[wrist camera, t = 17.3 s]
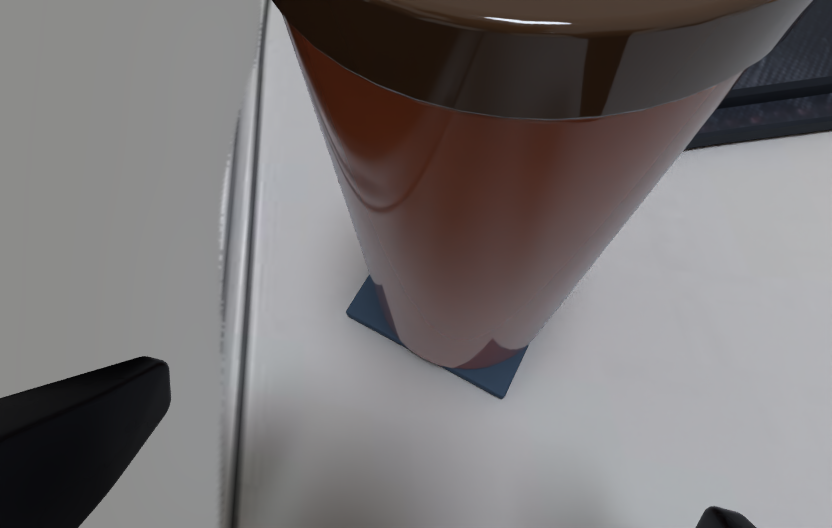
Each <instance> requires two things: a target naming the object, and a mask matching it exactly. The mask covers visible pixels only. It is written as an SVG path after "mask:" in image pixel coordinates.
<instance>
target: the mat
mask: <svg viewBox="0 0 832 528" xmlns="http://www.w3.org/2000/svg"><path fill="white" fill-rule="evenodd" d="M346 313H347V315H348V316H349V317H350V318H352V319H354V320H356V321H358V322H359V323H361V324H363V325H365V326H367V327H369V328H371V329H372V330H374V331H376V332H378V333H380V334H382V335H384V336H385V337H387V338H389V339H391V340H393V341H395V342H396V343H398V344H400V345H402V346H404V347H406V346H405V345H404V344H403V343H402V342H401V341H400V340H399V339H398V338H397V336H396V335H395V334H394V333H393V331H392V330H391V328H390V326H389V325H388V323H387V321H386V319H385V317H384V314H383V312H382V309H381V306H380V303H379V300H378V297H377V294H376V291H375V288H374V285H373V282H372V279H371V276H370V274H369V276H368V278H367V279H366V281H365V282H364V284H363V285H362V287H361V289H360V290H359V292H358V293H357V295H356V297H355V298H354V300H353V301H352V303H351V304H350V306H349V308H348V309H347V311H346ZM528 345H529V344H528ZM528 345H527V346H526V347H525V348H524V349H523V350H522V351H521V352H519V353H518V354H516V355H515V356H513V357H512V358H510V359H508V360H506V361H503V362H501V363H499V364H496V365H493V366H490V367H484V368H479V369H455V368H449V367H445V366H441V365H439V366H441V367H443V368H444V369H446V370H448V371H450V372H452V373H454V374H456V375H457V376H459V377H461V378H463V379H465V380H467V381H469V382H470V383H472V384H474V385H476V386H478V387H480V388H481V389H483V390H485V391H487V392H489V393H491V394H493V395H494V396H496V397H498V398H500V399H503V398H504V397H505V395H506V393H507V390H508V388H509V386H510V384H511V382H512V380H513V377H514V375H515V373H516V371H517V369H518V367H519V364H520V362H521V360H522V358H523V356H524V354H525V352H526V349H527V347H528ZM406 348H407V347H406ZM409 350H410V349H409ZM437 365H438V364H437Z"/></svg>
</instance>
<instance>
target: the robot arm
mask: <svg viewBox="0 0 832 528" xmlns="http://www.w3.org/2000/svg"><path fill="white" fill-rule="evenodd" d="M170 402H171V390H170V375H169V367H168V365H167V363H166V362H164V361H163V360H159V359H155V358H151V357H146V356H142V357H138V358H135V359H132V360H128V361H125V362H121V363H118V364H115V365H111V366H108V367H104V368H101V369H97V370H94V371H91V372H87V373H84V374H81V375H77V376H74V377H71V378H67V379H64V380H61V381H57V382H54V383H50V384H47V385H43V386H40V387H37V388H33V389H30V390H26V391H23V392H20V393H16V394H13V395H10V396H6V397H3V398H0V528H78V527H79V526H80V525H81V524H82V523H83V521H84V520H85V519H86V518H87V517H88V516H89V514H90V513H91V512H92V511H93V510H94V509H95V508H96V506H97V505H98V504H99V503H100V502H101V500H102V499H103V498H104V497H105V496H106V494H107V493H108V492H109V490H110V489H111V488H112V487H113V486H114V484H115V483H116V482H117V480H118V479H119V478H120V476H121V475H122V474H123V472H124V471H125V469H126V468H127V467H128V465H129V464H130V463H131V461H132V460H133V458H134V457H135V456H136V454H137V453H138V452H139V450H140V449H141V447H142V446H143V445H144V443H145V442H146V440H147V439H148V437H149V436H150V435H151V434H152V432H153V431H154V429H155V428H156V427H157V425H158V424H159V422H160V421H161V420H162V418H163V417H164V416H165V414H166V412H167V411H168V408H169V406H170ZM696 528H756V527H755V526H754V525H753V524H752V523H751V522H750V521H749V520H748V519H747V518H745V517H744V516H743V515H742V514H740V513H738V512H735V511H731V510H727V509H723V508H720V507H716V506H711V507H709V508H707V509H706V510H705V511H704V513H703V515H702V517H701V519H700V520H699V522H698V524H697V526H696Z"/></svg>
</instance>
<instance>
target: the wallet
mask: <svg viewBox="0 0 832 528" xmlns="http://www.w3.org/2000/svg"><path fill="white" fill-rule="evenodd" d="M830 129H832V0H818V1H817V2H816V3H815V4H814V5H813V7H812V8H811V9H810V10H809V11H808V13H807V14H806V15H805V16H804V17H803V19H802V20H801V21H800V22H799V23H798V25H797V26H796V27H795V28H794V29H793V31H792V32H791V33H790V34H789V35H788V37H787V38H786V39H785V40H783V41H782V42H781V43H780V44H779V45H777V46H776V47H775V48H774V49H773V50H772V51H770V52H769V53H768V54H767V55H766V56H764V57H763V58H762V59H761V60H759V61H758V62H756V63H754V64H753V65H751V66H750V68H749V69H748V70H747V71H746V73H745V74H744V75H743V76H742V78H741V79H740V80H739V81H738V83H737V84H736V85H735V86H734V88H733V89H732V90H731V91H730V93H729V94H728V95H727V96H726V98H725V99H724V100H723V101H722V103H721V104H720V105H719V106H718V108H717V109H716V110H715V112H714V113H713V114H712V115H711V117H710V118H709V119H708V120H707V122H706V123H705V124H704V125H703V127H702V128H701V129H700V130H699V132H698V133H697V134H696V135H695V137H694V138H693V139H692V140H691V142H690V143H689V144H688V145H687V147H686V148H685V149H688V148H694V147H701V146H707V145H713V144H720V143H728V142H736V141H744V140H752V139H759V138H767V137H775V136H783V135H791V134H798V133H806V132H814V131H822V130H830Z"/></svg>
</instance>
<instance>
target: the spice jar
mask: <svg viewBox="0 0 832 528" xmlns="http://www.w3.org/2000/svg"><path fill="white" fill-rule="evenodd" d="M272 1H273V2H274V4H275V5H276V6H277V8H278V9H279V10H280V12H281V13H282V15H283V18H284V21H285V24H286V27H287V30H288V33H289V36H290V39H291V42H292V45H293V48H294V51H295V54H296V57H297V60H298V63H299V66H300V68H301V71H302V74H303V77H304V80H305V83H306V86H307V89H308V92H309V95H310V98H311V101H312V104H313V107H314V110H315V113H316V116H317V119H318V122H319V125H320V128H321V131H322V134H323V137H324V140H325V143H326V146H327V149H328V152H329V155H330V157H331V160H332V163H333V166H334V169H335V172H336V175H337V178H338V181H339V184H340V187H341V190H342V193H343V196H344V199H345V202H346V205H347V208H348V211H349V214H350V217H351V220H352V223H353V226H354V229H355V232H356V235H357V238H358V241H359V244H360V246H361V249H362V252H363V255H364V258H365V261H366V264H367V267H368V270H369V273H370V276H371V279H372V282H373V285H374V288H375V291H376V294H377V297H378V300H379V303H380V306H381V309H382V312H383V314H384V317H385V319H386V321H387V323H388V325H389V326H390V328H391V330H392V331H393V333H394V334H395V335H396V336H397V338H398V339H399V340H400V341H401V342H402V343H403V344H404V345H405V346H406V347H407V348H408V349H410V350H411V351H412V352H414V353H415V354H417V355H418V356H420V357H422V358H424V359H426V360H428V361H430V362H432V363H435V364H438V365H441V366H445V367H449V368H455V369H479V368H484V367H490V366H493V365H496V364H499V363H501V362H503V361H506V360H508V359H510V358H512V357H513V356H515V355H516V354H518V353H519V352H521V351H522V350H523V349H524V348H525V347H526V346H527V345H528V344H530V342H531V341H532V340H533V339H534V338H535V336H536V335H537V334H538V333H539V331H540V330H541V329H542V328H543V326H544V325H545V324H546V323H547V321H548V320H549V319H550V318H551V316H552V315H553V314H554V313H555V311H556V310H557V309H558V307H559V306H560V305H561V304H562V302H563V301H564V300H565V299H566V297H567V296H568V295H569V294H570V292H571V291H572V290H573V289H574V287H575V286H576V285H577V284H578V282H579V281H580V280H581V279H582V277H583V276H584V275H585V274H586V272H587V271H588V270H589V269H590V267H591V266H592V265H593V264H594V262H595V261H596V260H597V259H598V257H599V256H600V255H601V253H602V252H603V251H604V250H605V248H606V247H607V246H608V245H609V243H610V242H611V241H612V240H613V238H614V237H615V236H616V235H617V233H618V232H619V231H620V230H621V228H622V227H623V226H624V225H625V223H626V222H627V221H628V220H629V218H630V217H631V216H632V215H633V213H634V212H635V211H636V210H637V208H638V207H639V206H640V204H641V203H642V202H643V201H644V199H645V198H646V197H647V196H648V194H649V193H650V192H651V191H652V189H653V188H654V187H655V186H656V184H657V183H658V182H659V181H660V179H661V178H662V177H663V176H664V174H665V173H666V172H667V171H668V169H669V168H670V167H671V166H672V164H673V163H674V162H675V161H676V159H677V158H678V157H679V155H680V154H681V153H682V152H683V150H684V149H685V148H686V147H687V145H688V144H689V143H690V142H691V140H692V139H693V138H694V137H695V135H696V134H697V133H698V132H699V130H700V129H701V128H702V127H703V125H704V124H705V123H706V122H707V120H708V119H709V118H710V117H711V115H712V114H713V113H714V112H715V110H716V109H717V108H718V106H719V105H720V104H721V103H722V101H723V100H724V99H725V98H726V96H727V95H728V94H729V93H730V91H731V90H732V89H733V88H734V86H735V85H736V84H737V83H738V81H739V80H740V79H741V78H742V76H743V75H744V74H745V73H746V71H747V70H748V69H749V68H750V66H751V65H753V64H754V63H756V62H758V61H759V60H761V59H762V58H763V57H764V56H766V55H767V54H768V53H769V52H770V51H772V50H773V49H774V48H775V47H776V46H777V45H779V44H780V43H781V42H782V41H783V40H785V39H786V38H787V37H788V35H789V34H790V33H791V32H792V31H793V29H794V28H795V27H796V26H797V25H798V23H799V22H800V21H801V20H802V19H803V17H804V16H805V15H806V14H807V13H808V11H809V10H810V9H811V8H812V7H813V5H814V4H815V3H816V2H817V1H818V0H272Z"/></svg>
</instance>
